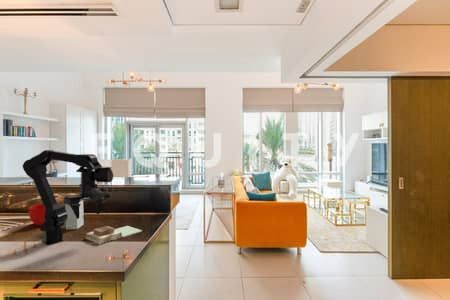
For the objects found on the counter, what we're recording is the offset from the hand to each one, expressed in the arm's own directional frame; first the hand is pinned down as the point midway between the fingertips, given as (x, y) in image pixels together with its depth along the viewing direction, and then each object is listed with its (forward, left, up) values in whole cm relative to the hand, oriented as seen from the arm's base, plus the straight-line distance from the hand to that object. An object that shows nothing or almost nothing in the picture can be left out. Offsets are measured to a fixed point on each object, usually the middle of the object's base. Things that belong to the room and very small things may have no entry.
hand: (88, 216), depth 116 cm
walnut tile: (+7, 0, -10) cm, 12 cm away
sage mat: (+19, 0, -12) cm, 22 cm away
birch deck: (+7, 0, -12) cm, 14 cm away
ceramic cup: (+1, +49, -12) cm, 50 cm away
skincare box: (+7, +28, -12) cm, 31 cm away
